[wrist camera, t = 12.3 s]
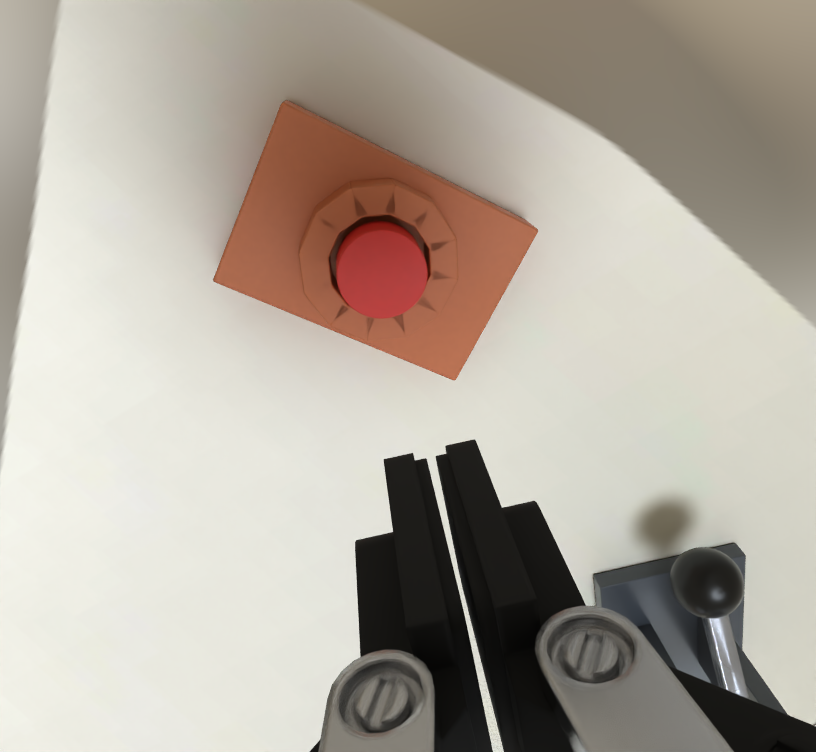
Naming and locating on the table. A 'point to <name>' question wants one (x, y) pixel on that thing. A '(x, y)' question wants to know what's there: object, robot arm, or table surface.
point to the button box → (356, 205)
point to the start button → (380, 270)
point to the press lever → (713, 607)
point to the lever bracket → (676, 620)
